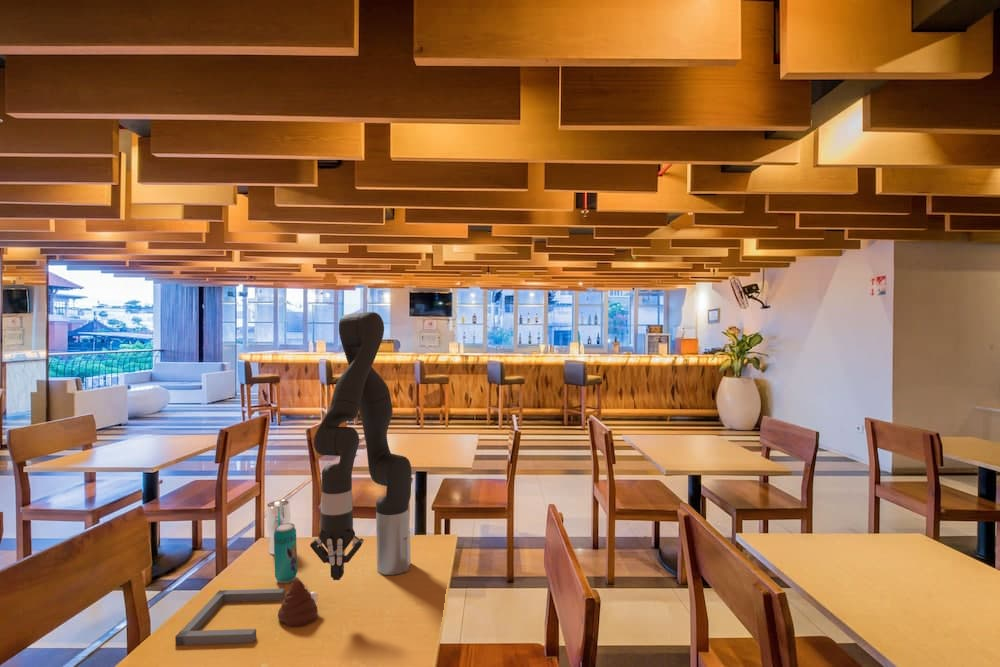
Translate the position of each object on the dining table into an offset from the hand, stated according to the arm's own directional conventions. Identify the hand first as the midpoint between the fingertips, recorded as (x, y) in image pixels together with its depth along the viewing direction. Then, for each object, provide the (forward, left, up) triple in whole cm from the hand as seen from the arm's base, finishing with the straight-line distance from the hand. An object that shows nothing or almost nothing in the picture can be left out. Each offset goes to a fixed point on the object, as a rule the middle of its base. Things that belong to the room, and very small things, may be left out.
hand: (337, 578), depth 130 cm
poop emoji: (+10, 0, -10) cm, 14 cm away
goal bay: (+24, 0, -9) cm, 26 cm away
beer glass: (+28, -38, -10) cm, 49 cm away
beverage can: (+19, -19, -9) cm, 29 cm away
